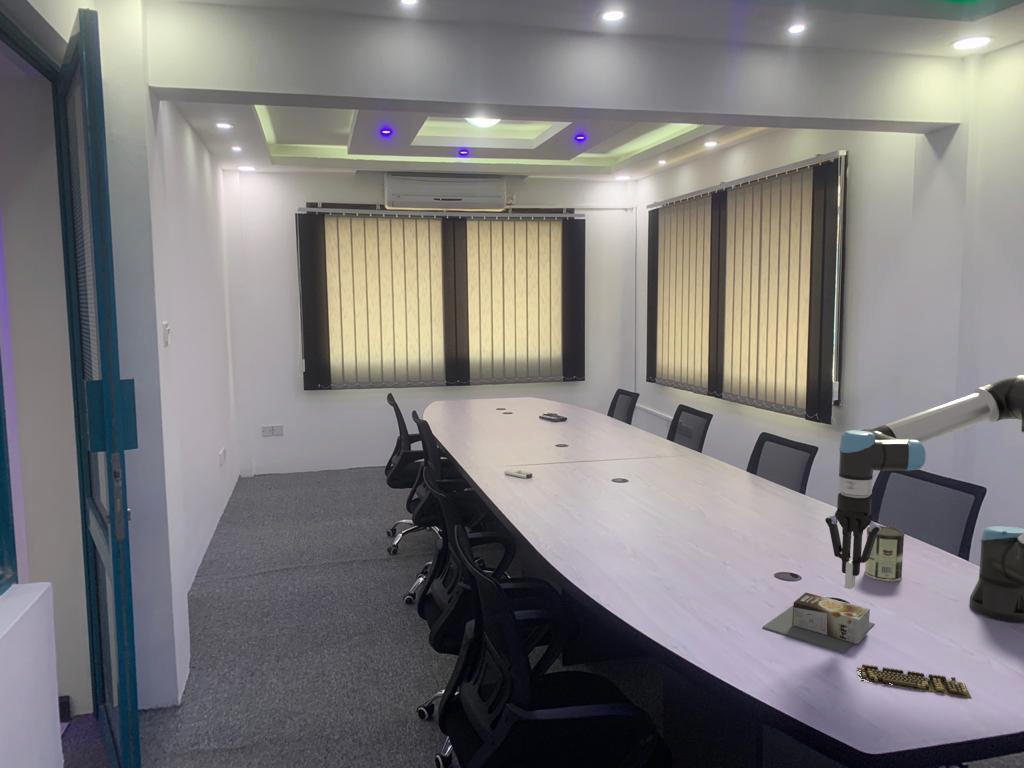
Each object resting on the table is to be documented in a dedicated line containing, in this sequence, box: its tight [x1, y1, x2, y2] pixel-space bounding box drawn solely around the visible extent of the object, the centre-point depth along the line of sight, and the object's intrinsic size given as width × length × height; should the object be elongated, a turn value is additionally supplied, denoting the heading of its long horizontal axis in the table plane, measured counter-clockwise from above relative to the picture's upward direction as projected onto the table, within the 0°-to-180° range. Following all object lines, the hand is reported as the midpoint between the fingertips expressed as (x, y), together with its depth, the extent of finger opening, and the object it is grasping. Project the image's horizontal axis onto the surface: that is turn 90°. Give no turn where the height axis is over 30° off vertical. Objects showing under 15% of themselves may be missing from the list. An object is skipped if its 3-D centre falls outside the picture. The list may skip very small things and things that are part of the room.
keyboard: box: [856, 663, 972, 699], centre depth 162 cm, size 22×9×2 cm, turn 70°
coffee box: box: [792, 592, 871, 645], centre depth 186 cm, size 9×6×16 cm
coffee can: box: [864, 525, 905, 582], centre depth 224 cm, size 10×10×14 cm
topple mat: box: [762, 605, 875, 654], centre depth 189 cm, size 20×22×1 cm
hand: (849, 586), depth 183 cm, fingers closed
